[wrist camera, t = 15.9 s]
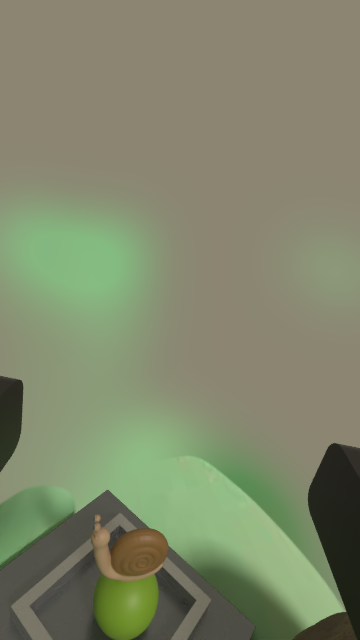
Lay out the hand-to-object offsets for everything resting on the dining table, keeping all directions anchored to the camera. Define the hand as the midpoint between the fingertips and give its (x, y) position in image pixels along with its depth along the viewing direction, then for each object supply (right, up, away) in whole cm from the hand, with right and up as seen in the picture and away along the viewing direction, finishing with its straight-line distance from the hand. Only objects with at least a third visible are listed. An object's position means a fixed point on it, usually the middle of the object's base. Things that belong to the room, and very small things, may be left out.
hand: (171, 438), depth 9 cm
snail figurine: (-5, -23, +20) cm, 31 cm away
